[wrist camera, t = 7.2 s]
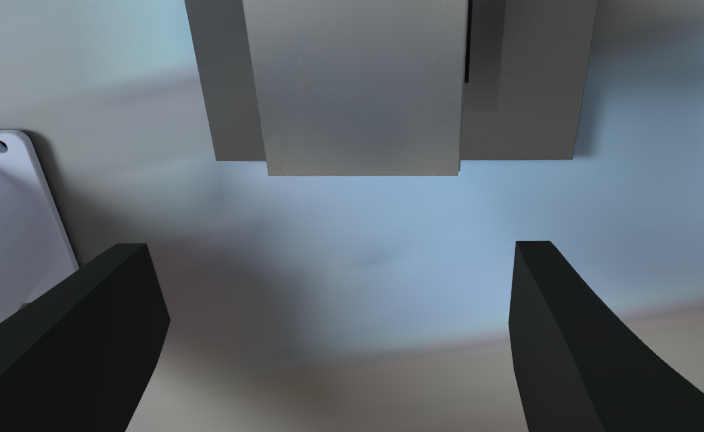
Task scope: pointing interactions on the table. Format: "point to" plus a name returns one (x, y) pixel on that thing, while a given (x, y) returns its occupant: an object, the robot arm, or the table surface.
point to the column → (359, 85)
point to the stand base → (479, 83)
